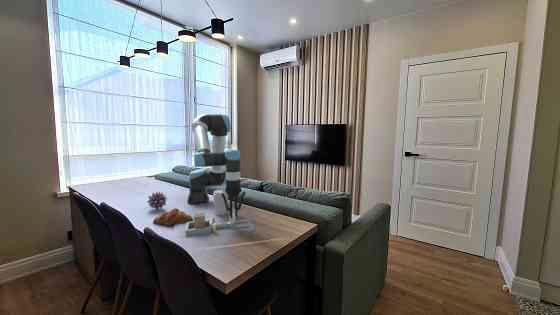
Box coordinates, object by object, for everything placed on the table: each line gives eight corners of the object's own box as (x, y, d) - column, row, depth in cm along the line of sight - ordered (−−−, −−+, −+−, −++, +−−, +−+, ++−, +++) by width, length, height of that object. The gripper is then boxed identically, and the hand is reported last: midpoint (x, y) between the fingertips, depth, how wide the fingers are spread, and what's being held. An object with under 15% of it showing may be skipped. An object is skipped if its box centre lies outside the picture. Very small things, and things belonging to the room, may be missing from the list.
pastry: (163, 231, 124) (162, 216, 123) (152, 223, 134) (151, 209, 133) (194, 222, 136) (193, 208, 135) (181, 215, 146) (181, 203, 146)
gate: (209, 225, 129) (209, 216, 128) (231, 223, 132) (231, 214, 132) (209, 231, 121) (209, 221, 120) (233, 228, 124) (233, 219, 124)
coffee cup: (225, 218, 142) (224, 193, 141) (210, 217, 144) (209, 192, 143) (231, 213, 152) (231, 189, 150) (217, 211, 153) (217, 188, 152)
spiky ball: (168, 205, 165) (167, 188, 163) (166, 211, 153) (165, 193, 152) (149, 207, 161) (148, 190, 160) (146, 213, 150) (145, 194, 148)
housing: (182, 227, 128) (182, 219, 128) (249, 220, 139) (249, 213, 139) (179, 240, 113) (179, 231, 113) (254, 231, 124) (254, 223, 123)
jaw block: (195, 227, 126) (194, 212, 125) (205, 226, 127) (204, 212, 126) (194, 232, 120) (194, 216, 119) (205, 231, 121) (204, 215, 120)
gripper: (220, 181, 120) (221, 226, 123) (246, 180, 124) (246, 223, 127) (219, 178, 127) (220, 221, 130) (244, 177, 131) (244, 218, 134)
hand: (233, 222), depth 128 cm, fingers closed
